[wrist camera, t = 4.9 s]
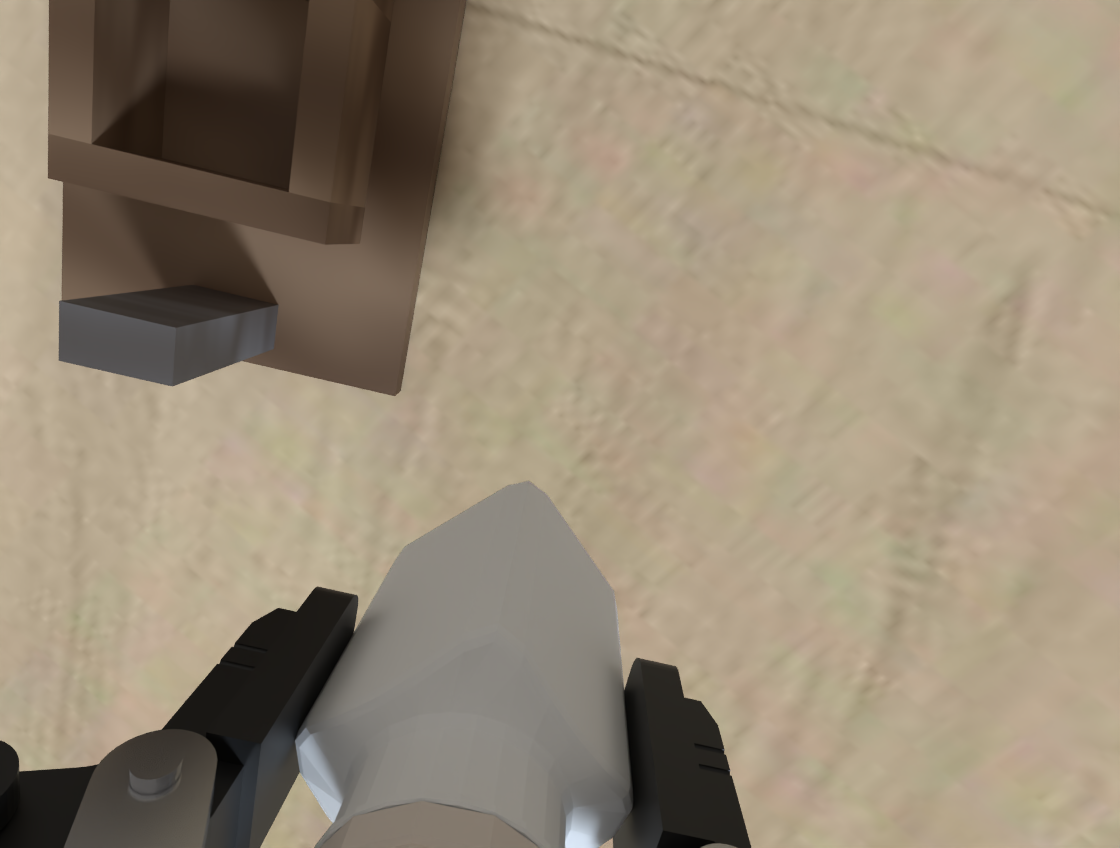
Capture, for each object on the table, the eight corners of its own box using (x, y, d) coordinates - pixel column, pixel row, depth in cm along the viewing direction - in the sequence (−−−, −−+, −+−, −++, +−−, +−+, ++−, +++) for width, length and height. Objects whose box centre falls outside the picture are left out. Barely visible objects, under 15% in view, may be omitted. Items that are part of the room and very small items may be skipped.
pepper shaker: (487, 669, 16) (358, 1261, 7) (391, 546, 15) (91, 1037, 6) (625, 595, 15) (691, 1149, 6) (533, 462, 14) (444, 874, 5)
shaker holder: (90, -295, 18) (-176, -590, 12) (497, -183, 19) (457, -405, 12) (78, 316, 23) (-114, 347, 17) (400, 390, 24) (335, 448, 17)
